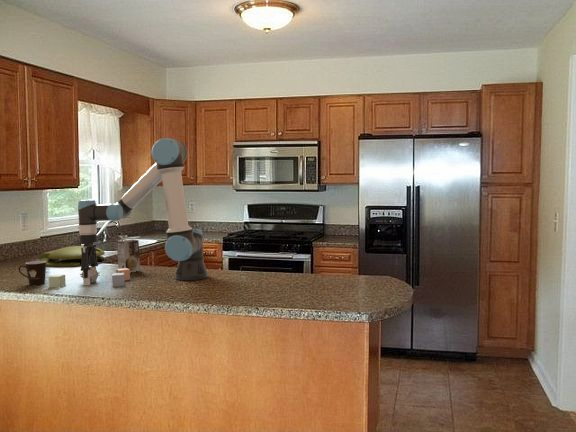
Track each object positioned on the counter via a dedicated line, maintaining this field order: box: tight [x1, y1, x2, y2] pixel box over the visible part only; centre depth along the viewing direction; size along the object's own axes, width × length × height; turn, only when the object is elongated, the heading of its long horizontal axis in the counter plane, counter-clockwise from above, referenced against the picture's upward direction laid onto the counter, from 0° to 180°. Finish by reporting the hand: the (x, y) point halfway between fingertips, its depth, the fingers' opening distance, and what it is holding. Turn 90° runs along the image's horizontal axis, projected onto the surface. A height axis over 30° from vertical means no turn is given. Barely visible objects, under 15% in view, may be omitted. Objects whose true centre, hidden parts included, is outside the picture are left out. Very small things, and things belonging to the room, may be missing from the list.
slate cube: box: [111, 272, 125, 287], centre depth 240 cm, size 5×5×5 cm
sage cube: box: [48, 274, 67, 288], centre depth 239 cm, size 5×5×5 cm
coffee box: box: [116, 239, 141, 274], centre depth 273 cm, size 9×6×16 cm
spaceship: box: [36, 245, 106, 268], centre depth 309 cm, size 35×31×10 cm
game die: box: [79, 265, 100, 284], centre depth 245 cm, size 9×8×10 cm
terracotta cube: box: [115, 268, 131, 281], centre depth 253 cm, size 5×5×5 cm
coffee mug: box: [17, 260, 47, 286], centre depth 246 cm, size 12×9×10 cm
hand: (90, 282), depth 245 cm, fingers closed on game die, 9 cm apart
